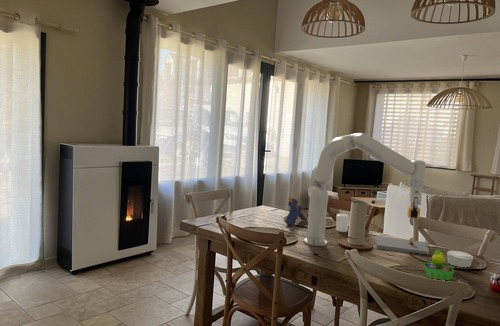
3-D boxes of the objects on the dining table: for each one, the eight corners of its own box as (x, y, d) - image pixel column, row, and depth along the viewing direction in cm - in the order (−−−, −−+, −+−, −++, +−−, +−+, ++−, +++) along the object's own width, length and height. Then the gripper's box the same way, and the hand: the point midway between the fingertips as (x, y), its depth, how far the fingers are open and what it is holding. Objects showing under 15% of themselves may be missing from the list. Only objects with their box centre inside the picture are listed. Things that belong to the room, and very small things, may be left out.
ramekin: (461, 270, 173) (462, 259, 173) (440, 262, 184) (441, 251, 183) (477, 267, 178) (478, 257, 177) (456, 259, 188) (457, 249, 188)
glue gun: (303, 237, 248) (310, 217, 254) (288, 217, 225) (296, 196, 231) (294, 234, 251) (302, 215, 257) (279, 215, 228) (288, 194, 234)
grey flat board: (429, 255, 192) (429, 251, 192) (376, 248, 200) (376, 244, 199) (424, 245, 209) (424, 241, 209) (375, 239, 217) (376, 235, 217)
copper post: (413, 245, 201) (414, 238, 201) (409, 244, 202) (409, 238, 202) (413, 244, 203) (413, 237, 203) (408, 243, 204) (409, 237, 204)
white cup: (339, 228, 237) (340, 212, 236) (350, 231, 231) (351, 215, 230) (332, 230, 231) (334, 214, 230) (343, 233, 226) (345, 217, 225)
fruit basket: (424, 278, 162) (426, 253, 161) (422, 271, 170) (424, 247, 169) (453, 283, 158) (456, 257, 157) (450, 276, 166) (453, 251, 165)
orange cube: (419, 218, 198) (420, 209, 197) (408, 217, 199) (408, 208, 199) (418, 216, 203) (418, 207, 203) (407, 215, 205) (407, 206, 204)
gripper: (426, 186, 190) (422, 220, 192) (421, 181, 206) (418, 213, 208) (410, 184, 192) (407, 219, 194) (407, 180, 209) (404, 212, 210)
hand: (413, 215), depth 201 cm, fingers closed on orange cube, 5 cm apart
